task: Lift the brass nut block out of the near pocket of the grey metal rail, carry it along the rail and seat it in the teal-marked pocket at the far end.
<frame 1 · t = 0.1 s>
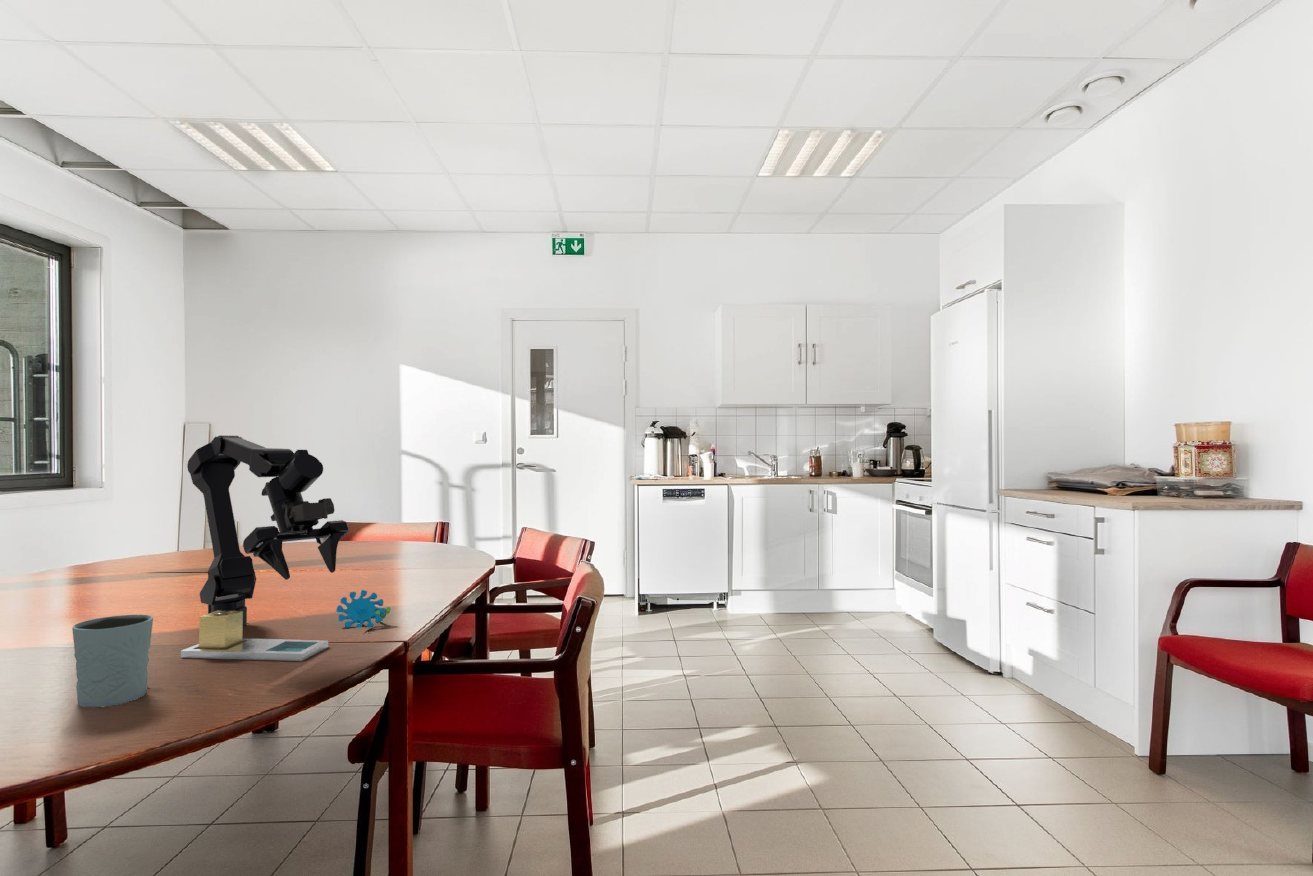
hand: (311, 575, 136), 15 cm above the table, tool tilted 30°, fingers open, 9 cm apart
nut block: (220, 651, 134), point 1 cm above the table, touching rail
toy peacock: (363, 628, 156), on the table
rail: (256, 656, 134), on the table
embossed vase: (112, 699, 111), on the table
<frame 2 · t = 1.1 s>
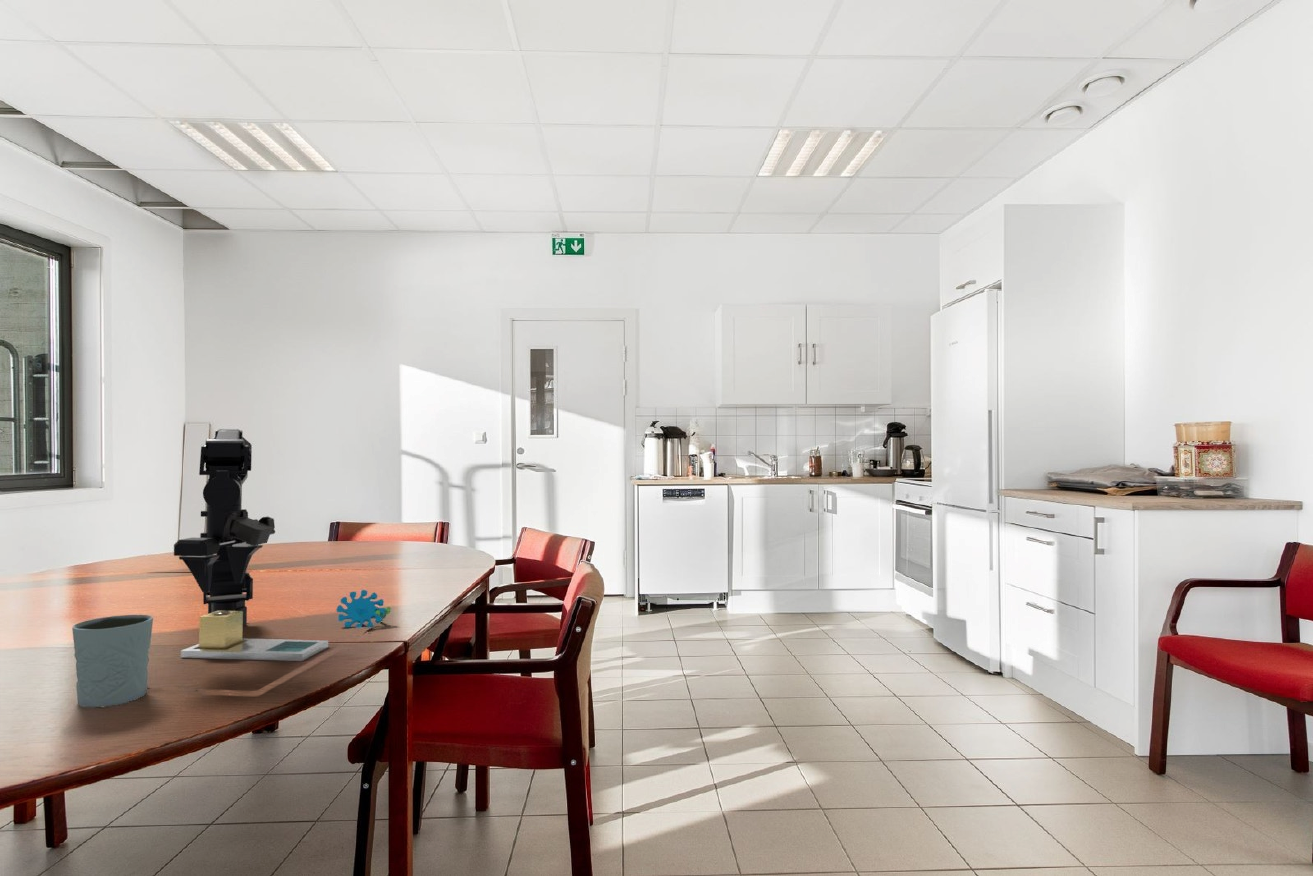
hand: (222, 587, 134), 13 cm above the table, tool pointing down, fingers open, 9 cm apart
nothing on the table moved.
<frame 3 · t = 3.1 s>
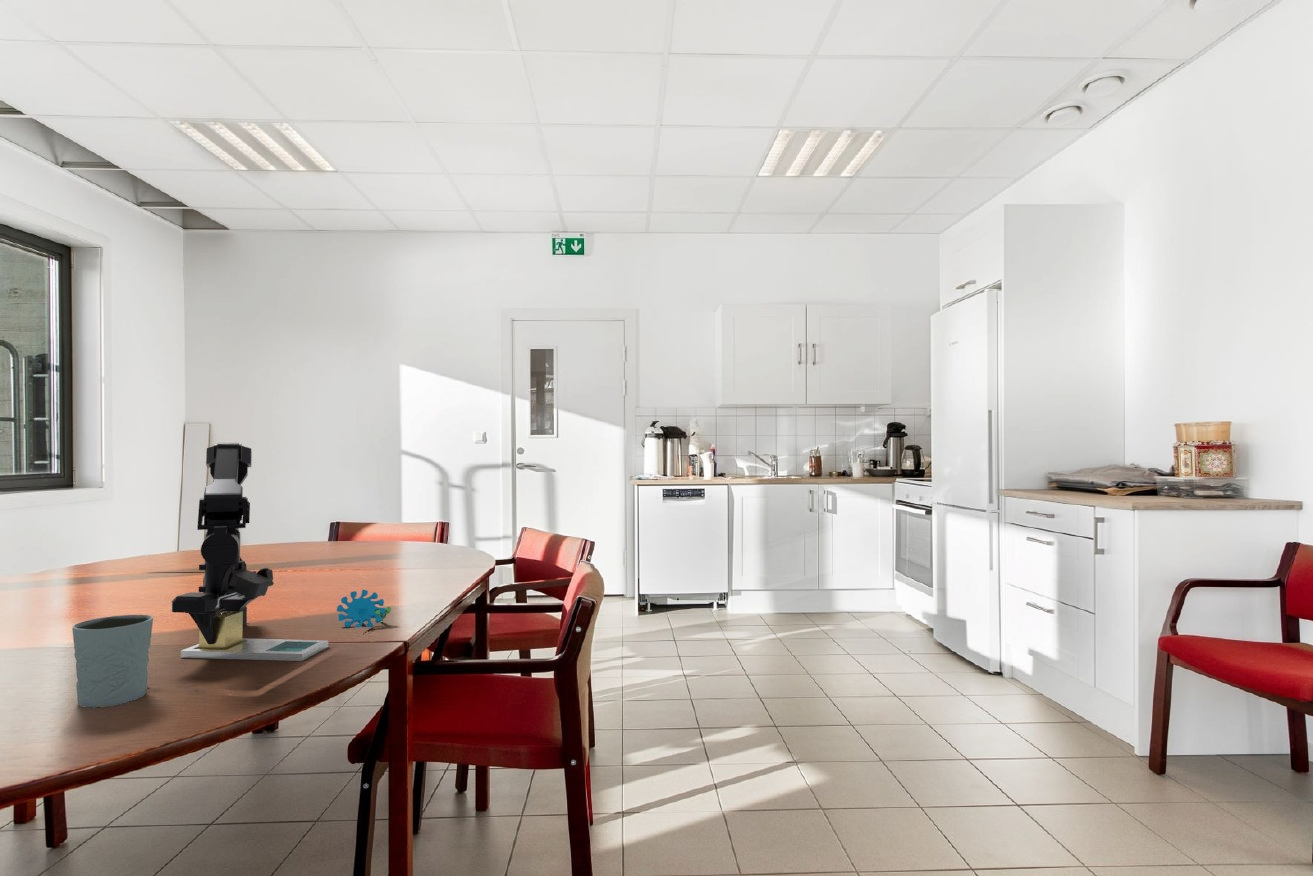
hand: (221, 640, 134), 3 cm above the table, tool pointing down, fingers closed on nut block, 5 cm apart
nut block: (220, 651, 134), point 1 cm above the table, touching gripper, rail
everything else where it was.
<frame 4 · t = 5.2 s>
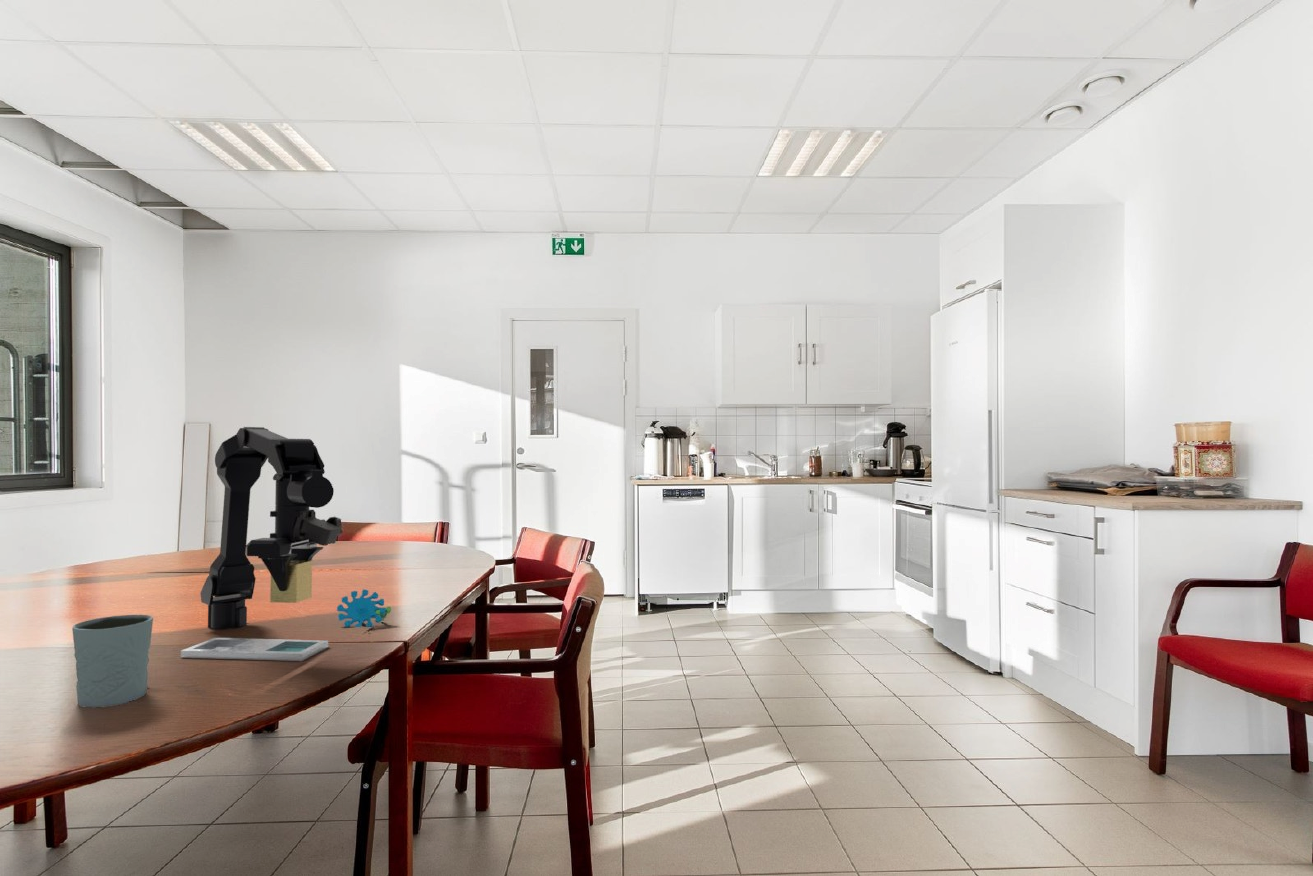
hand: (291, 588, 133), 13 cm above the table, tool pointing down, fingers closed on nut block, 5 cm apart
nut block: (291, 599, 133), point 11 cm above the table, touching gripper
everything else where it was.
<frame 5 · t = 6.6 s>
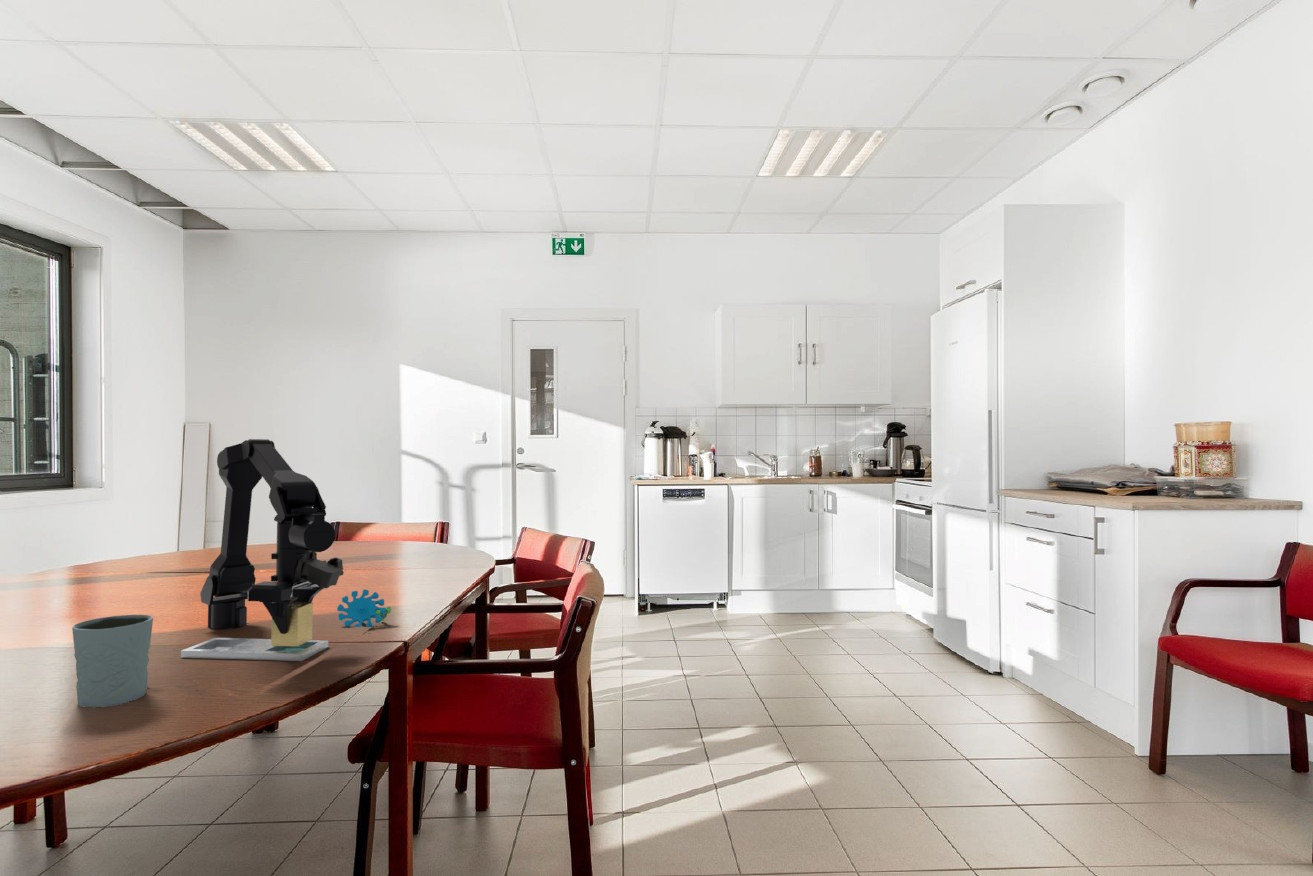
hand: (292, 629, 133), 5 cm above the table, tool pointing down, fingers closed on nut block, 5 cm apart
nut block: (292, 642, 133), point 3 cm above the table, touching gripper
everything else where it was.
when the fingers open (5 cm above the table, at t = 7.5 s): nut block drops 1 cm, resting on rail.
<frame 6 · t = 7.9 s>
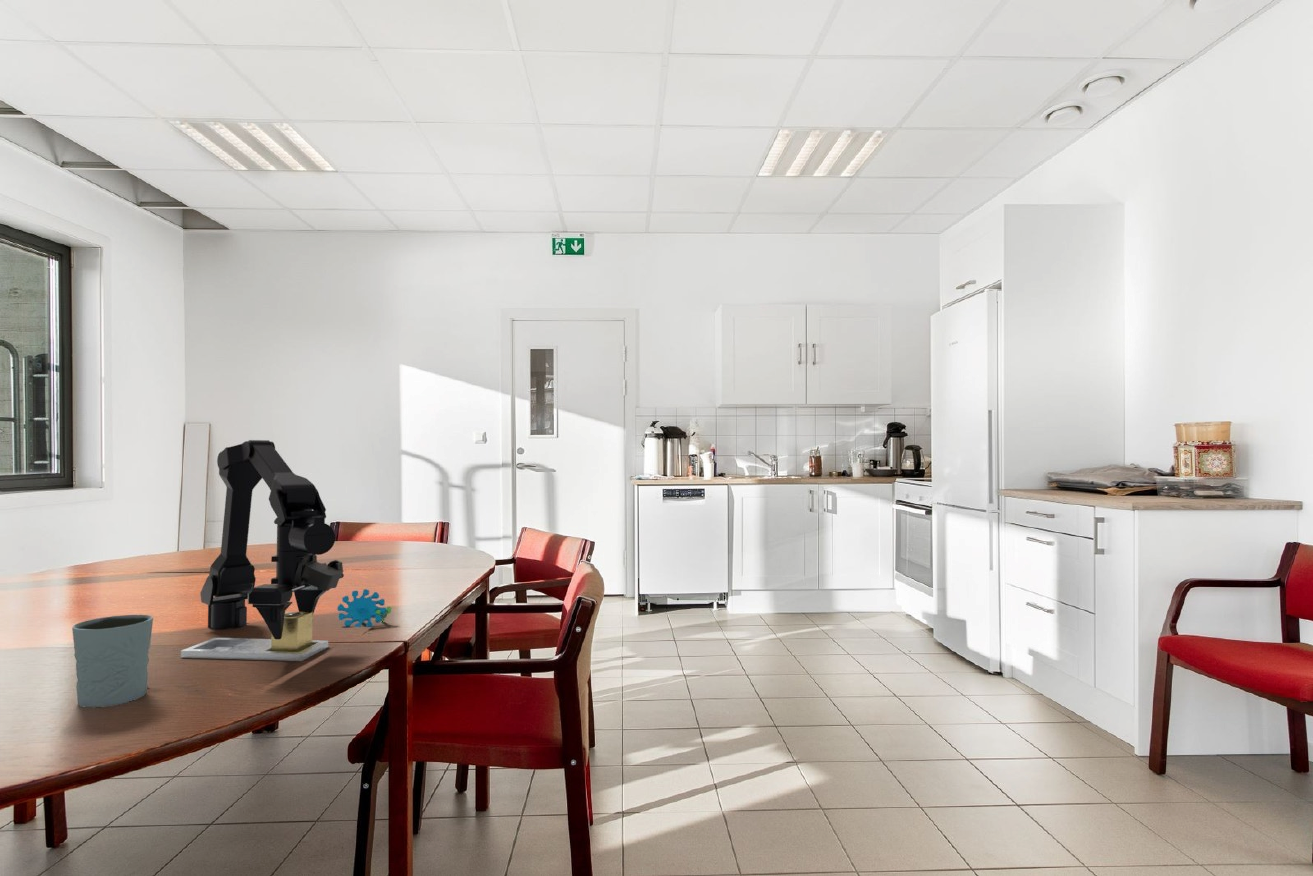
hand: (292, 632, 133), 5 cm above the table, tool pointing down, fingers open, 9 cm apart
nut block: (291, 652, 133), point 1 cm above the table, touching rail
everything else where it was.
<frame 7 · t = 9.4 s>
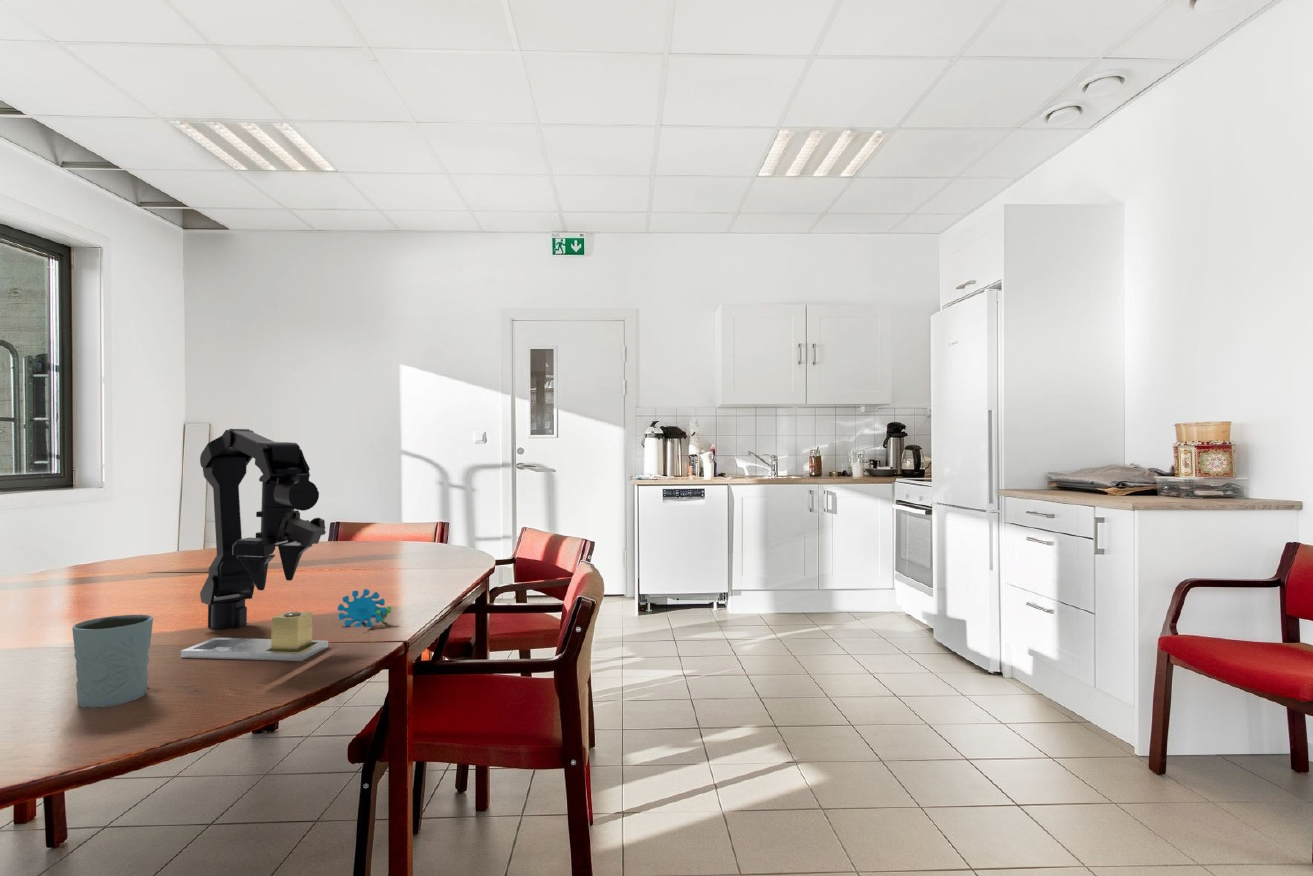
hand: (275, 585, 140), 12 cm above the table, tool pointing down, fingers open, 9 cm apart
nothing on the table moved.
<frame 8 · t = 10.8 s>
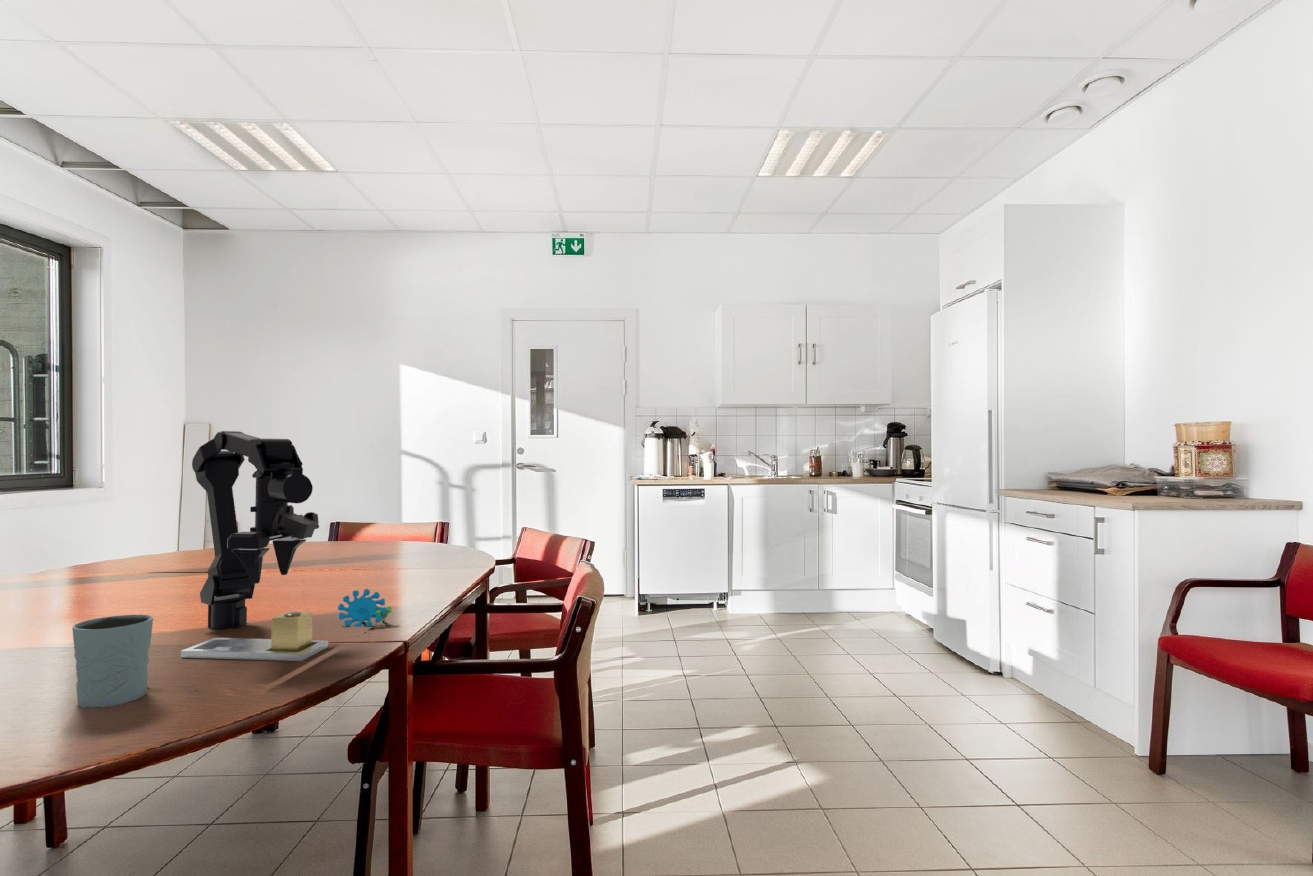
hand: (270, 579, 142), 13 cm above the table, tool pointing down, fingers open, 9 cm apart
at the end: nut block 0.1 cm from the target spot on the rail, point 0.9 cm above the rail's base; nut block tilted 0°; the gripper is holding nothing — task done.
